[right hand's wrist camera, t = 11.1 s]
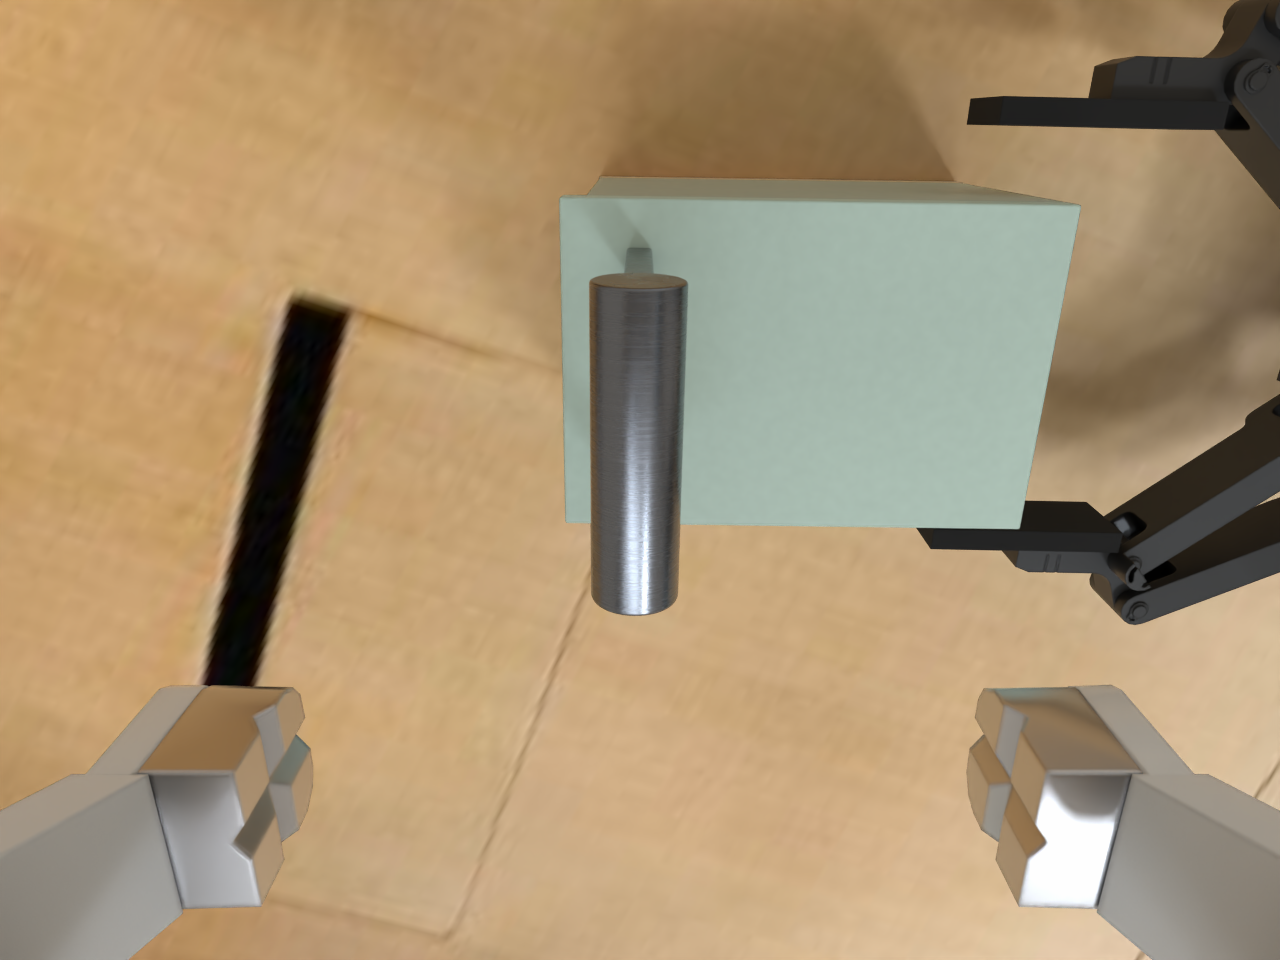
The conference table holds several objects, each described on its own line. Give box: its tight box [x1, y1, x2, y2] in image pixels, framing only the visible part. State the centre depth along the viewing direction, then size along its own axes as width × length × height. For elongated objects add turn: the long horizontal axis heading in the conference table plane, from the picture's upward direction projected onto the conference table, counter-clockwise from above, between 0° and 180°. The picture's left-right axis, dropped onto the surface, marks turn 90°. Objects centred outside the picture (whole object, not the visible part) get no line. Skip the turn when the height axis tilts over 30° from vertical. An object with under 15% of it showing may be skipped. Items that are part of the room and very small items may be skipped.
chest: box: [587, 176, 1061, 202], centre depth 31 cm, size 14×10×10 cm
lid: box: [559, 195, 1081, 616], centre depth 23 cm, size 14×10×8 cm
